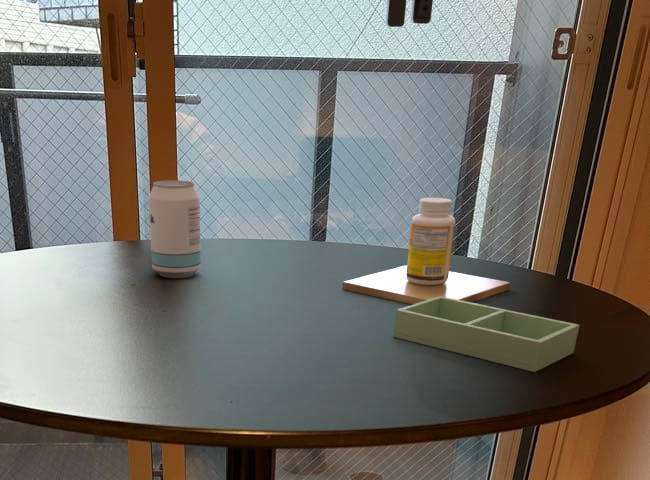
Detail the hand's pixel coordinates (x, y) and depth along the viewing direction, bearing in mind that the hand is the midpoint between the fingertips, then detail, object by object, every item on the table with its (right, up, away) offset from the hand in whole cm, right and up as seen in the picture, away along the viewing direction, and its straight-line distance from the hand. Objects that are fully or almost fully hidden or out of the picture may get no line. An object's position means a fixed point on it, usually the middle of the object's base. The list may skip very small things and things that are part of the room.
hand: (406, 25), depth 97 cm
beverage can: (-29, -24, +18) cm, 42 cm away
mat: (+5, -28, +11) cm, 31 cm away
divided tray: (+6, -41, -10) cm, 43 cm away
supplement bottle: (+5, -28, +11) cm, 30 cm away
